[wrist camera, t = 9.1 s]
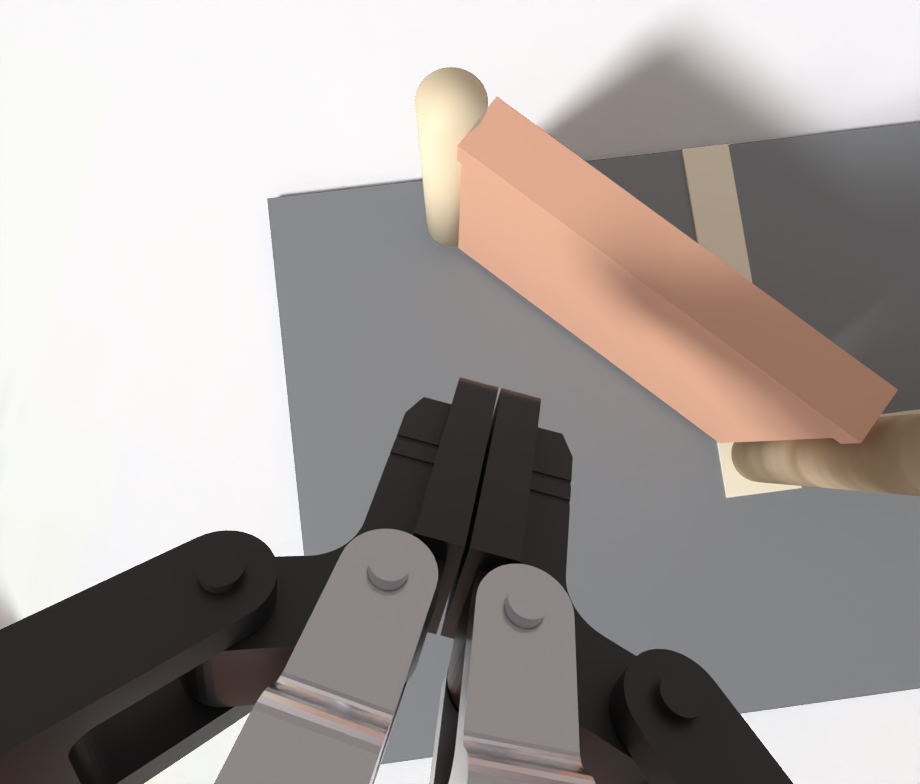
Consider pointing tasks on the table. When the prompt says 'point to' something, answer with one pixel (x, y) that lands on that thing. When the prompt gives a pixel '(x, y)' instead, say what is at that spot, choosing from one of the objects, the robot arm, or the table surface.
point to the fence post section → (840, 460)
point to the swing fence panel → (629, 278)
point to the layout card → (636, 413)
